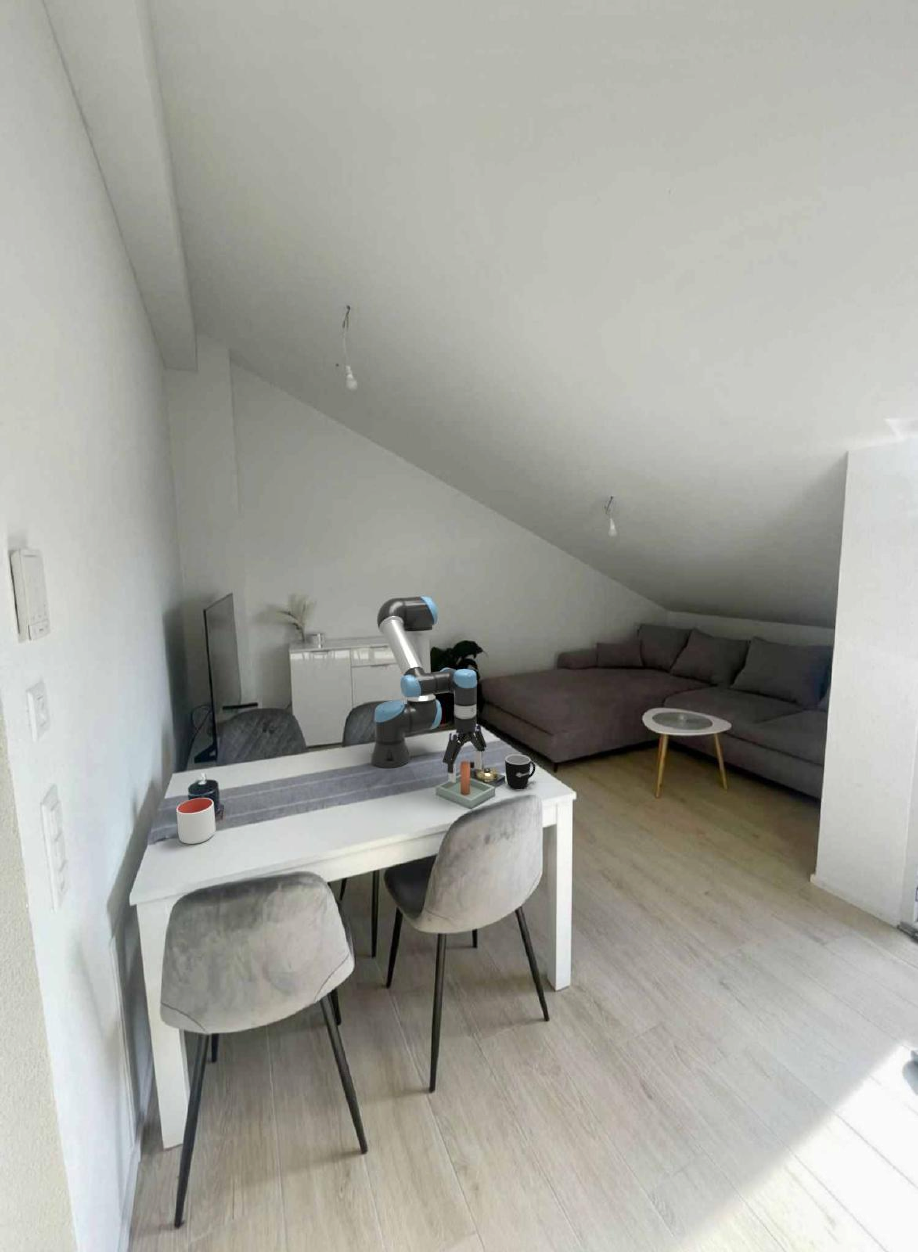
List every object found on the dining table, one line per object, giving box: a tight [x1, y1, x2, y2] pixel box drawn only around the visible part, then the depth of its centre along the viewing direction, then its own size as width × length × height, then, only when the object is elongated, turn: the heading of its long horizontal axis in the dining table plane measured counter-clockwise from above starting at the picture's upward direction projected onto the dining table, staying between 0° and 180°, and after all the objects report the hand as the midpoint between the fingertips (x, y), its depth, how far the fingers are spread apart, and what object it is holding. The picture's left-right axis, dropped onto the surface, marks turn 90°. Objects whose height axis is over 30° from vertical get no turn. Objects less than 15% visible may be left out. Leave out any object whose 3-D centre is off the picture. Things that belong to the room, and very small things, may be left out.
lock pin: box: [460, 760, 470, 795], centre depth 192 cm, size 3×3×11 cm
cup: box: [175, 797, 217, 845], centre depth 166 cm, size 10×10×10 cm
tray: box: [435, 774, 496, 810], centre depth 193 cm, size 16×13×3 cm
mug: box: [504, 753, 536, 791], centre depth 200 cm, size 12×9×10 cm
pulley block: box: [456, 760, 506, 789], centre depth 203 cm, size 15×10×6 cm, turn 49°
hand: (465, 774), depth 192 cm, fingers open, 13 cm apart
